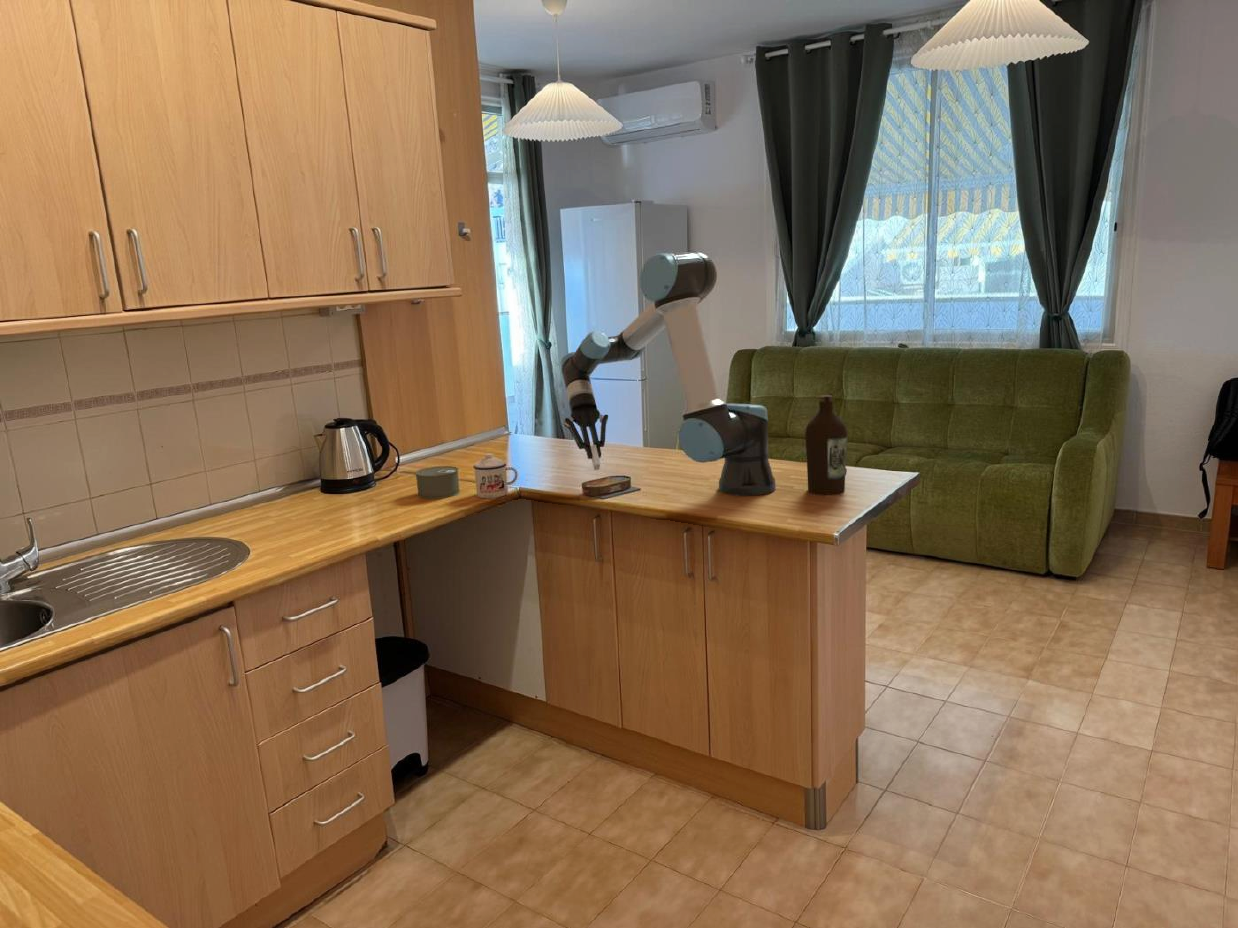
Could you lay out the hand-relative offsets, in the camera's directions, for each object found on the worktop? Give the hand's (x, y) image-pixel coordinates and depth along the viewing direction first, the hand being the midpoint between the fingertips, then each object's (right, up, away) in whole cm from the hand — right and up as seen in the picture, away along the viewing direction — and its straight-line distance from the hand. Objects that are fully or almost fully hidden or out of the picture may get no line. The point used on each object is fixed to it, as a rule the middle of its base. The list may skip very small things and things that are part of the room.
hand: (597, 467), depth 240 cm
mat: (+4, -7, -1) cm, 8 cm away
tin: (0, -5, +3) cm, 6 cm away
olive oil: (+61, -6, -12) cm, 62 cm away
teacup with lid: (-28, -8, +4) cm, 29 cm away
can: (-45, -8, +8) cm, 47 cm away
